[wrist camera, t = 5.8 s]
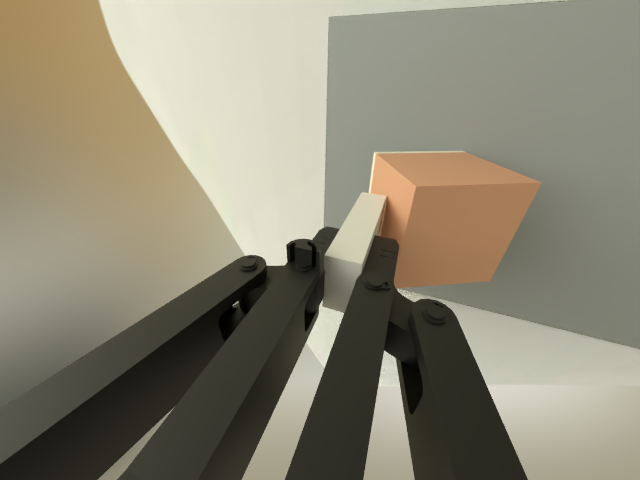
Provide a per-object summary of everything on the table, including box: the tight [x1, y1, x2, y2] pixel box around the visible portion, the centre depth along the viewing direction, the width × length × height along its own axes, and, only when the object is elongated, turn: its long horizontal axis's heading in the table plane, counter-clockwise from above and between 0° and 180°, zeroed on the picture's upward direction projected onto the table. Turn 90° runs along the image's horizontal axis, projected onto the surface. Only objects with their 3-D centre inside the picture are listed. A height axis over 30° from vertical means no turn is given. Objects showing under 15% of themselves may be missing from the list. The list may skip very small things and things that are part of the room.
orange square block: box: [369, 151, 542, 288], centre depth 15 cm, size 6×6×6 cm
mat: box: [324, 0, 640, 349], centre depth 17 cm, size 20×28×1 cm
